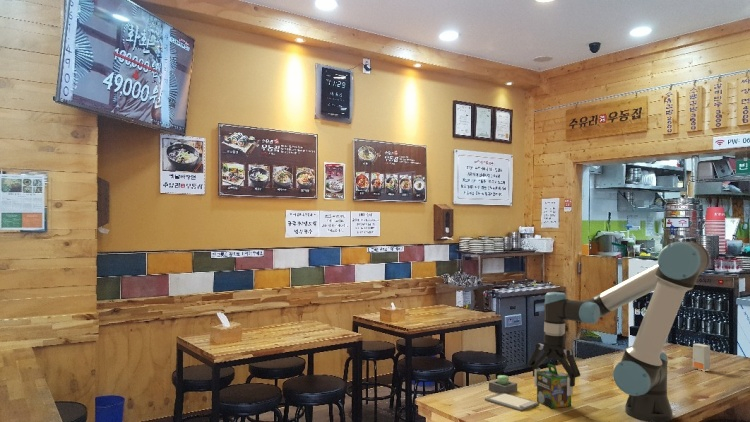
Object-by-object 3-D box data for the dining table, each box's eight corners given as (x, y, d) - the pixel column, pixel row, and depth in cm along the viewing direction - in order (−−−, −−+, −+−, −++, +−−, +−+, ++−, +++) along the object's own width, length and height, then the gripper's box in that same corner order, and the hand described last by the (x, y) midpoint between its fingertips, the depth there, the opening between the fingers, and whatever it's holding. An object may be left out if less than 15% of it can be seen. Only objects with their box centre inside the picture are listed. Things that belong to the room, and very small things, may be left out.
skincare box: (692, 369, 263) (692, 343, 264) (698, 368, 265) (698, 343, 265) (704, 372, 258) (704, 346, 258) (710, 371, 260) (710, 345, 260)
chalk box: (571, 406, 205) (572, 366, 205) (551, 409, 202) (551, 368, 202) (555, 399, 214) (556, 360, 214) (535, 401, 210) (536, 362, 211)
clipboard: (540, 404, 206) (540, 401, 206) (521, 411, 198) (521, 408, 198) (503, 394, 219) (503, 391, 219) (484, 400, 211) (484, 396, 211)
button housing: (517, 390, 223) (517, 383, 223) (505, 394, 218) (505, 387, 218) (500, 386, 229) (500, 378, 229) (488, 389, 224) (488, 382, 224)
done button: (510, 384, 223) (510, 376, 223) (504, 386, 220) (504, 378, 220) (501, 381, 227) (501, 374, 227) (495, 383, 224) (495, 376, 224)
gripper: (590, 338, 201) (589, 396, 201) (530, 327, 220) (529, 380, 220) (580, 341, 196) (579, 401, 196) (520, 329, 215) (518, 383, 215)
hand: (552, 390), depth 208 cm, fingers open, 13 cm apart
